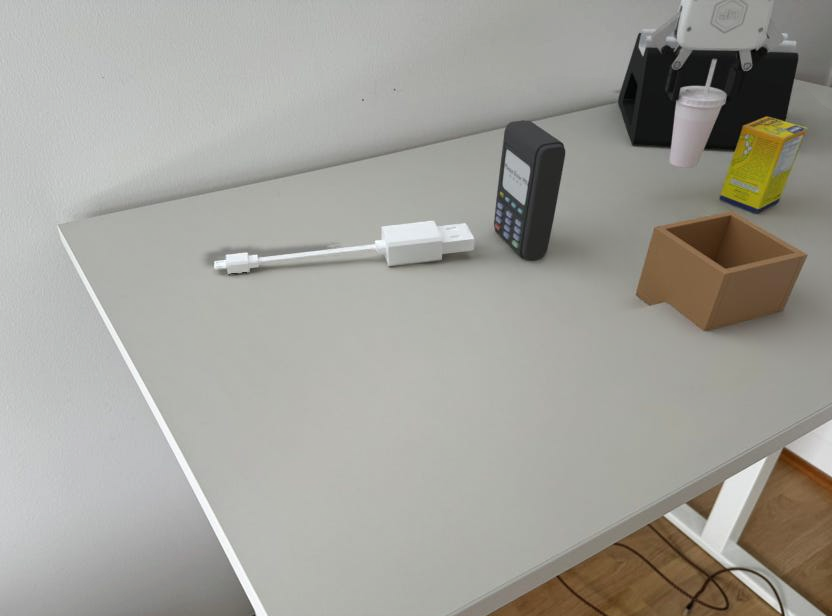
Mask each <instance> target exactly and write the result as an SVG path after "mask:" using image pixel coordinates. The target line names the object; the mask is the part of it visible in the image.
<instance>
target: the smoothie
mask: <svg viewBox="0 0 832 616" xmlns="http://www.w3.org/2000/svg"><path fill="white" fill-rule="evenodd" d="M716 62H717V59H712V63H711V67H710V70H709V74H708V78H707V82H706V86H687V87H682V88H681V89H680V93H679V97H678V100H676V108H675V117H674V126H673V135H672V144H671V147H670V153H669V163H670V164H671V165H672V166H675V167H677V168H684V169H690V168H695V167H697V166H698V164H699V162H700V159H701V157H702V156H703V155H702V154H703V152H704V150H705V149H704V148H705V145H706V143H707V140H708V138H709V136H710V133H711V131H712V128H713V126H714V124H715V121H716V119H717V117H718V114H719V112H720V109H721V106H722V105H724V104H725V103H726V98H727V94H726V93H725V92H724V91H722V90H719V89H716V88H712V87H710V84H711V81H712V77H713V73H714V69H715V66H716Z"/></svg>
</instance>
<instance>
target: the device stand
mask: <svg viewBox="0 0 832 616" xmlns="http://www.w3.org/2000/svg"><path fill="white" fill-rule="evenodd" d="M657 29H658V28H642V30H641V32H639V33H638V34H637V37H636V40H635V43H634V46H633V49H632V53H631V56H630V59H629V62H628V66H627V68H626V72H625V76H624V79H623V82H622V85H621V88H620V91H619V95H618V99H617V104H618V107H619V110H620V113H621V117H622V120H623V122H624V125H625V128H626V132H627V135H628V139H629V141H630V143H631V145H632V146H646V147H647V146H648V147H649V146H650V147H665V148H666V147H667V148H668V147H669V148H671V144H672V135H673V126H674V117H675V108H676V101H671V99H670V98H669V96H668V93H666V91H665V87H666V82H667V78H668V74H669V70H670V64H669V63H668V61H667V60H666V59H665V58H664V56H663V55H662V53H661V52H660V51H659V49H658V48H657V46H656V45H655V44H654V42H653V41H652V39H651V34H652V33H653V32H655V31H656V30H657ZM781 34H782V35H783V36H784V40H783V42H782V43H781V44H779V45H778V46H777V47H775V48H774V49H773V50H771V51H769V52H768V53H767V55H766V56H765V57H763V58H762V59H761V60H759V61H758V62H757V63H755V64H754V65H753V66H752V68H751V69H750V70H748V71H747V72H746V75H745V79H744V82H743V86H742V89H741V92H740V94H736V97H735V100H734V102H728V101H727V100H726V103H725V104H724V105H722V106H721V109H720V112H719V114H718V117H717V119H716V121H715V124H714V126H713V128H712V131H711V133H710V136H709V138H708V140H707V143H706V145H705V148H704V150H719V151H720V150H721V151H735V149H736V146H737V143H738V140H739V137H740V134H741V131H742V127H743V126H744V125H746V124H749V123H751V122H754V121H756V120H759V119H761V118H764V117H771V118H775V119H778V120H781V121H785V122H787V117H788V111H789V106H790V102H791V97H792V92H793V88H794V83H795V77H796V72H797V69H798V64H799V53H798V52H795V50H796V47H797V41H796V40H788V39H789V35H788V33H785V32H784V33H783V32H781ZM766 38H767V35H766V36H765V38H764V40H765V39H766ZM666 41H667V43H668V44H669V46H670V47H671V48H672V50H673V51H674V50H675V48H676V47H677V45H678V44H679V43H678V42H677V39H675V38H674V32H672V33H671V34H670V35H668V36H667V38H666ZM712 59H717V62H716V66H715V69H714V73H713V77H712V81H711V84H710V87H712V88H716V89H719V90H722V91H724V89H725V85H726V82H727V78H728V74H729V71H730V67H731V66H732V65H733V64H734V65H735V62H736V55H735V51H731V50H693V51H692V52H691V54H690V55H689V56H688V58H687V59H686V61H685V62H684V64H683V70H684V76H683V81H682V85H681V88H682V87H687V86H706V82H707V78H708V74H709V70H710V67H711V63H712Z"/></svg>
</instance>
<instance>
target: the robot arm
mask: <svg viewBox="0 0 832 616" xmlns="http://www.w3.org/2000/svg"><path fill="white" fill-rule="evenodd" d="M774 3H775V0H681V1H680V4H679V8H678V10H677V13H676V14H675V15H674V16H672V17H671V18H670V19H668V20H667V21H666V22H665V23H663V24H662V25H660V27H658V28H656V29H657V30H656V31H655V32H653V33H652V34H651V39H652V41H653V42H654V44H655V45H656V46H657V48H658V49H659V51H660V52H661V53H662V55H663V56H664V58H665V59H666V60H667V61H668V63H669V64H670V70H669V74H668V78H667V82H666V87H665V91H666V93H668V96H669V98H670V99H671V101H676V100H678V97H679V93H680V89H681V85H682V81H683V76H684V70H683V64H684V62H685V61H686V59H687V58H688V56H689V55H690V54H691V52H692V51H693V50H731V51H735V55H736V62H735V65H734V64H733V65H732V66H731V67H730V71H729V74H728V78H727V82H726V85H725V89H724V92H725V93H726V94H727V98H726V100H727V101H728V102H734V100H735V97H736V94H740V92H741V89H742V86H743V82H744V79H745V75H746V72H747V71H748V70H750V69H751V68H752V66H753V65H754V64H755V63H757V62H758V61H759V60H761V59H762V58H763V57H765V56H766V55H767V53H768V52H769V51H771V50H773V49H774V48H775V47H777V46H778V45H779V44H781V43H782V42H783V40H784V36H783V35H782V34H781V33H782V32H781V31H780V29H779V28H778V27H777V25H776V24H775V23H774V21H773V20H772V19H771V16H772V12H773V7H774ZM672 32H674V38H675V39H677V42H678V43H679V44H678V45H677V47H676V48H675V50H674V51H673V50H672V48H671V47H670V46H669V44H668V43H667V41H666V38H667V36H668V35H670V34H671V33H672ZM766 35H767V38H766V39H765V40H764V38H765V36H766Z"/></svg>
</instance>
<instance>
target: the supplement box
mask: <svg viewBox="0 0 832 616" xmlns="http://www.w3.org/2000/svg"><path fill="white" fill-rule="evenodd" d="M807 130H808V128H807V127H806V126H802V125H799V124H795V123H791V122H788V121H786V122H785V121H781V120H778V119H775V118H771V117H764V118H761V119H759V120H756V121H754V122H751V123H749V124H746V125H744V126H743V127H742V131H741V134H740V137H739V140H738V143H737V146H736V149H735V150H734V153H733V155H732V158H731V161H730V164H729V167H728V171H727V173H726V176H725V179H724V183H723V185H722V188H721V191H720V195H719V199H718V201H720V202H723V203H727V204H729V205H731V206H734V207H736V208H739V209H742V210H744V211H747V212H749V213H753V214H756V215H757V214H760V213H761V212H763V211H765V210H767V209H768V208H771V207H772V206H774V205H776V204H778V203H780V200H781V197H782V194H783V192H784V189H785V186H786V185H787V182H788V179H789V176H790V174H791V172H792V169H793V166H794V163H795V161H796V158H797V156H798V154H799V151H800V148H801V145H802V143H803V140H804V137H805V135H806V133H807Z"/></svg>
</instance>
